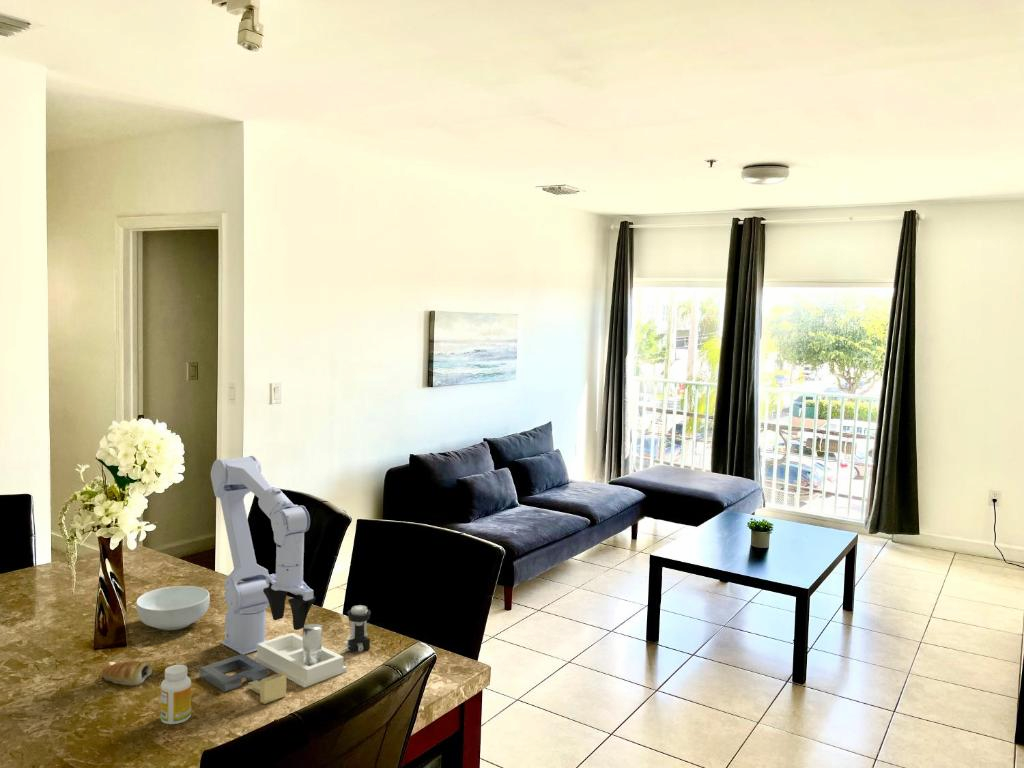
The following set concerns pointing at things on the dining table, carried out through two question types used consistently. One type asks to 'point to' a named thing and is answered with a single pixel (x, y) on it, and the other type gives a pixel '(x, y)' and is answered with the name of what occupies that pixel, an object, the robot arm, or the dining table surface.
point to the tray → (298, 660)
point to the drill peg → (312, 644)
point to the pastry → (127, 672)
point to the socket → (224, 682)
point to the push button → (358, 629)
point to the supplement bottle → (175, 695)
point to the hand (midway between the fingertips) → (288, 623)
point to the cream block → (270, 687)
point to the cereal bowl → (172, 606)
